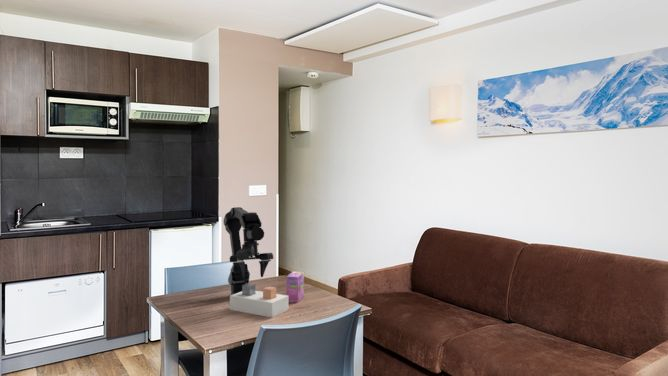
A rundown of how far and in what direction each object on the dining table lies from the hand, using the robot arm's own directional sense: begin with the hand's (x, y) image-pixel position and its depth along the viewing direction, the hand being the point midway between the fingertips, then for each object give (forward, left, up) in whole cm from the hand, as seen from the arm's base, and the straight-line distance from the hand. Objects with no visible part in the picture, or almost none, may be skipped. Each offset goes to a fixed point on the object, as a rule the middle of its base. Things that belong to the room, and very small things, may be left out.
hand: (252, 277), depth 197 cm
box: (+9, +20, -13) cm, 26 cm away
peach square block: (+10, -1, -9) cm, 13 cm away
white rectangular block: (+4, -1, -13) cm, 14 cm away
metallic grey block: (-1, -1, -9) cm, 9 cm away
